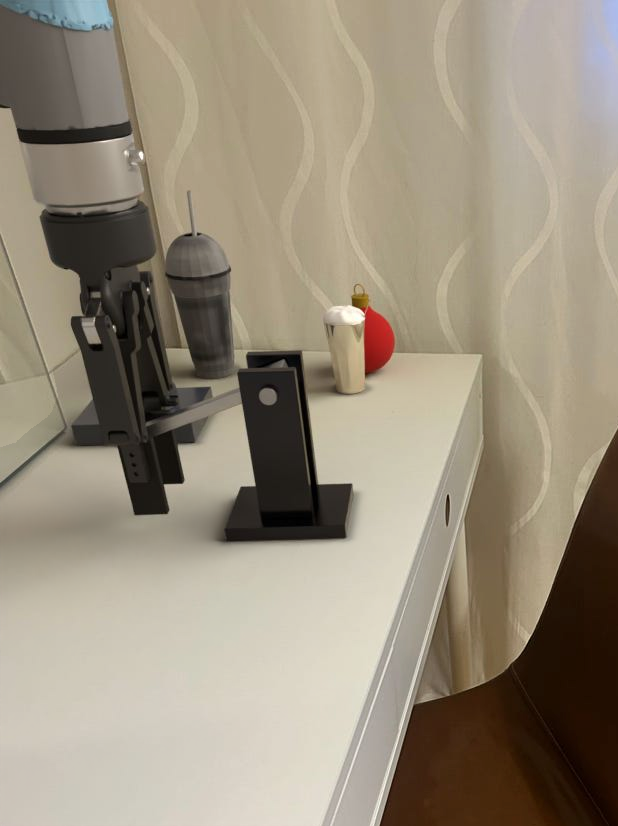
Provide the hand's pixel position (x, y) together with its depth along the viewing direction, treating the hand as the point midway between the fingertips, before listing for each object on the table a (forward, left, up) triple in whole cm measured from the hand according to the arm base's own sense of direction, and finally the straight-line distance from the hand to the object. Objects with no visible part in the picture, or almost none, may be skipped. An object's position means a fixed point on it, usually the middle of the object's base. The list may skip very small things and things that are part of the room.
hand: (160, 496), depth 83 cm
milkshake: (+14, +31, -3) cm, 34 cm away
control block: (-7, +22, -2) cm, 23 cm away
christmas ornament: (+15, +37, -3) cm, 40 cm away
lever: (+6, 0, +7) cm, 9 cm away
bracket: (+11, 0, -2) cm, 11 cm away
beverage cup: (-3, +38, -3) cm, 38 cm away
